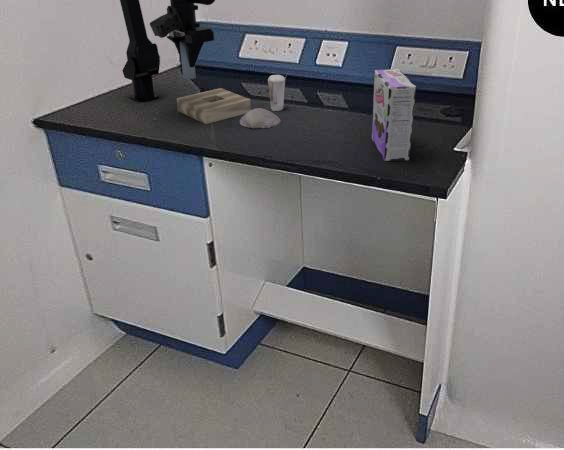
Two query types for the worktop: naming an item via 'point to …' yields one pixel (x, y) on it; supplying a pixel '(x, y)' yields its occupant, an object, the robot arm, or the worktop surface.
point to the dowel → (186, 64)
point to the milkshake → (276, 91)
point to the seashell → (259, 119)
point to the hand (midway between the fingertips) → (188, 65)
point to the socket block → (213, 105)
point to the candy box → (392, 114)
